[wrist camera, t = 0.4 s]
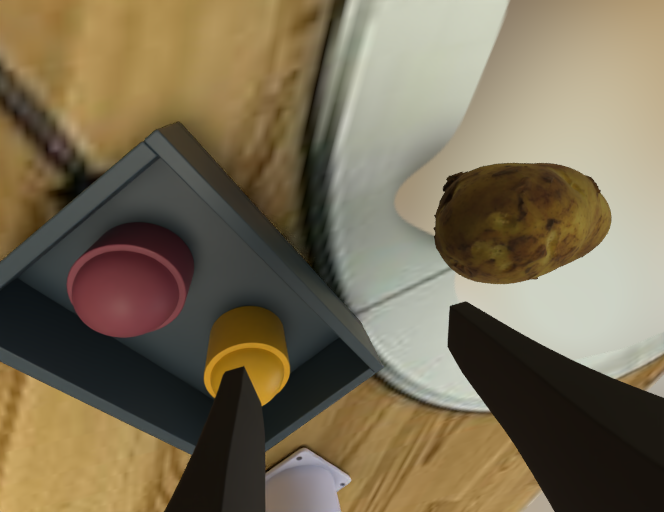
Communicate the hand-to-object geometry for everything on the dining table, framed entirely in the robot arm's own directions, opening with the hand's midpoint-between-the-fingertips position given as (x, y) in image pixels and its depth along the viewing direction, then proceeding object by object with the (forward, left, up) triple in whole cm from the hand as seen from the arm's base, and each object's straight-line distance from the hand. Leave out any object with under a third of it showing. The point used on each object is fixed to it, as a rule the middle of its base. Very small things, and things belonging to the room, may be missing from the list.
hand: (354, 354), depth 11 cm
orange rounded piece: (-7, -3, -10) cm, 12 cm away
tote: (-7, 0, -11) cm, 13 cm away
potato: (+11, -7, -11) cm, 17 cm away
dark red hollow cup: (-8, +5, -10) cm, 13 cm away
